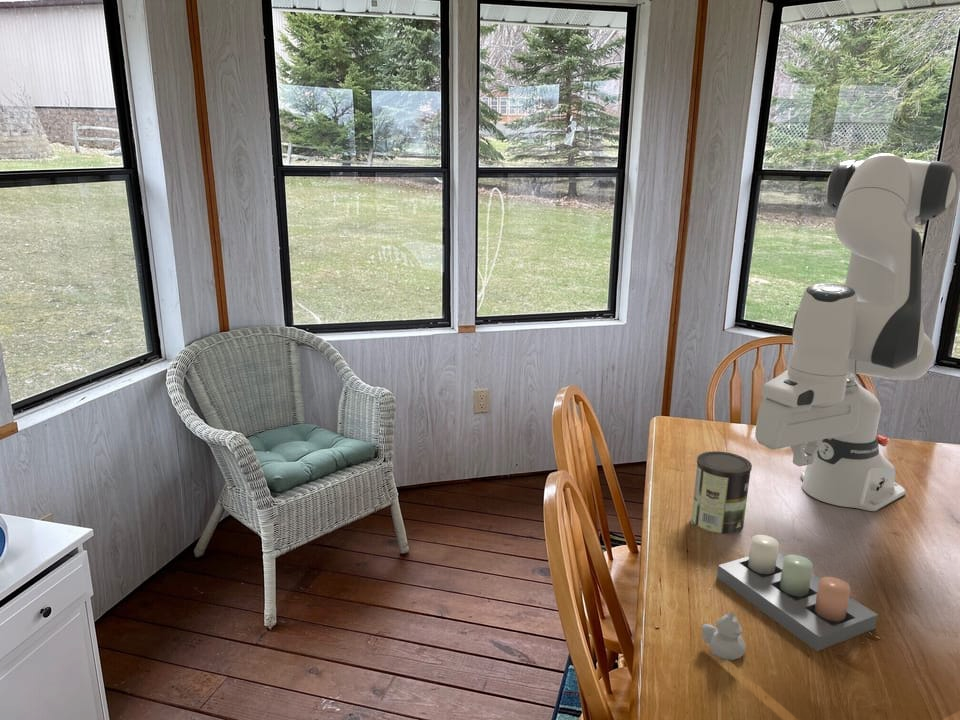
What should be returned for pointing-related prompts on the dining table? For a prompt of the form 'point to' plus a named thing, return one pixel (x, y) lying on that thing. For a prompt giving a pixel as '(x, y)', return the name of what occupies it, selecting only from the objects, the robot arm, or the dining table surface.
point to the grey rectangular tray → (795, 605)
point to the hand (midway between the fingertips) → (802, 464)
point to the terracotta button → (832, 598)
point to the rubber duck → (725, 637)
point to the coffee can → (720, 492)
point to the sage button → (796, 575)
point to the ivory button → (763, 554)
